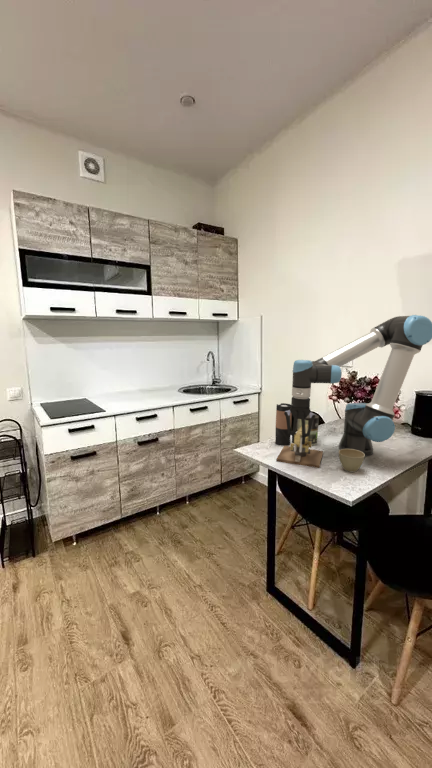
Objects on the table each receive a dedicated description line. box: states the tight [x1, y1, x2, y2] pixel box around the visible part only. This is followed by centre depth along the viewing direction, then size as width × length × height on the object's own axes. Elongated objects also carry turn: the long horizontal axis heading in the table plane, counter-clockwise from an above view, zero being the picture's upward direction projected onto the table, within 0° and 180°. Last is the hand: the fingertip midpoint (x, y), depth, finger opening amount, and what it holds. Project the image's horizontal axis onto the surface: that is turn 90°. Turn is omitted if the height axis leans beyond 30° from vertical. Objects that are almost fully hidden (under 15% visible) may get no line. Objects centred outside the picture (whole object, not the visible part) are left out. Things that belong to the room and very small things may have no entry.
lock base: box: [275, 445, 324, 469], centre depth 149 cm, size 18×18×6 cm
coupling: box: [289, 424, 312, 452], centre depth 148 cm, size 18×8×9 cm, turn 154°
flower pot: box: [338, 449, 366, 473], centre depth 137 cm, size 10×10×7 cm
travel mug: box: [275, 403, 293, 447], centre depth 166 cm, size 8×8×20 cm
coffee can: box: [296, 414, 320, 447], centre depth 169 cm, size 10×10×14 cm
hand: (297, 450), depth 143 cm, fingers closed on coupling, 2 cm apart
